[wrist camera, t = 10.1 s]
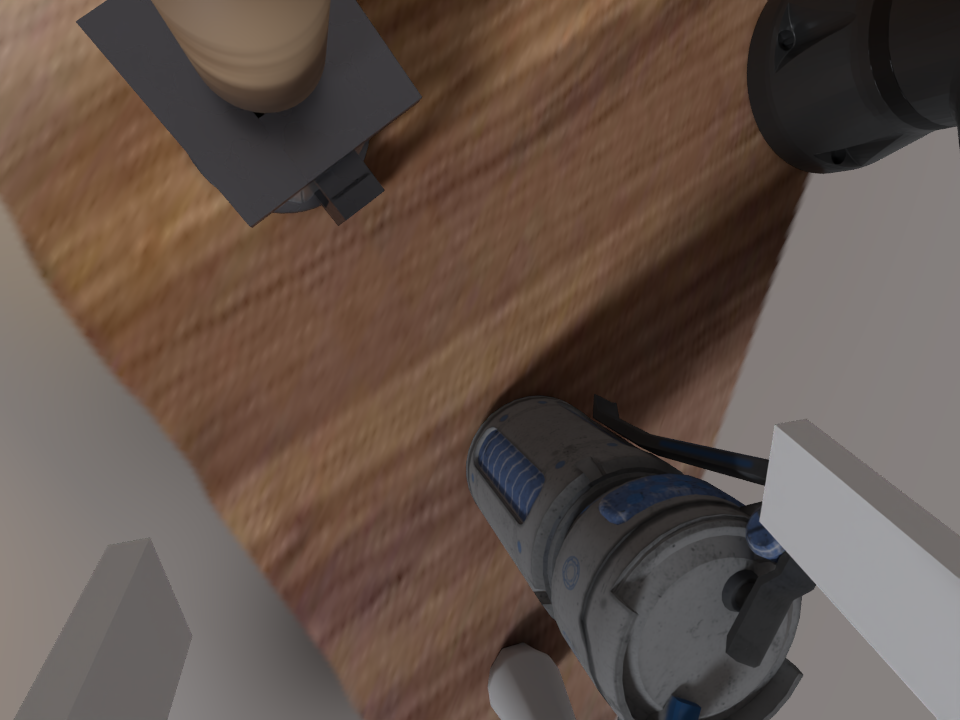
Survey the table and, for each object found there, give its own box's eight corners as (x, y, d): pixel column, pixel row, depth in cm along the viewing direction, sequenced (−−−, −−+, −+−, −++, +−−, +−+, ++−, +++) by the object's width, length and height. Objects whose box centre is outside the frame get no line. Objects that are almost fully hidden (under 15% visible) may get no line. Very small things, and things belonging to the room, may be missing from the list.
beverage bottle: (624, 395, 46) (954, 550, 23) (546, 545, 47) (788, 849, 23) (515, 339, 43) (768, 451, 19) (433, 500, 43) (581, 802, 20)
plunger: (342, 109, 31) (372, -23, 16) (265, 166, 31) (221, 86, 15) (276, 20, 30) (241, -220, 14) (194, 79, 29) (68, -106, 14)
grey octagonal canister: (418, 164, 39) (462, 130, 28) (283, 268, 38) (272, 277, 26) (288, -17, 35) (278, -144, 24) (134, 93, 34) (45, 15, 23)
